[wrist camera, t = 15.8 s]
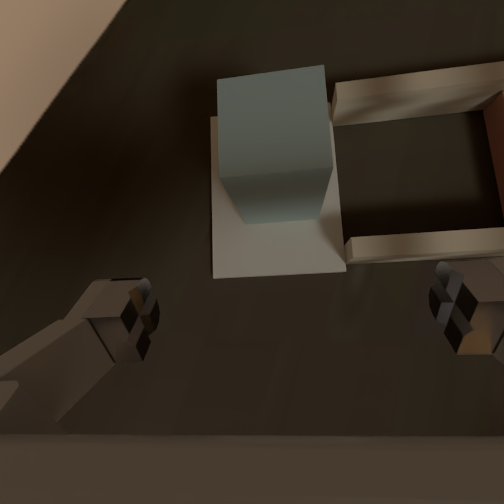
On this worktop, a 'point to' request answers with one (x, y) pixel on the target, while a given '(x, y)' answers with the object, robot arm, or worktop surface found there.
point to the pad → (274, 233)
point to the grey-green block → (275, 144)
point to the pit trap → (496, 140)
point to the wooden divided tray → (409, 106)
